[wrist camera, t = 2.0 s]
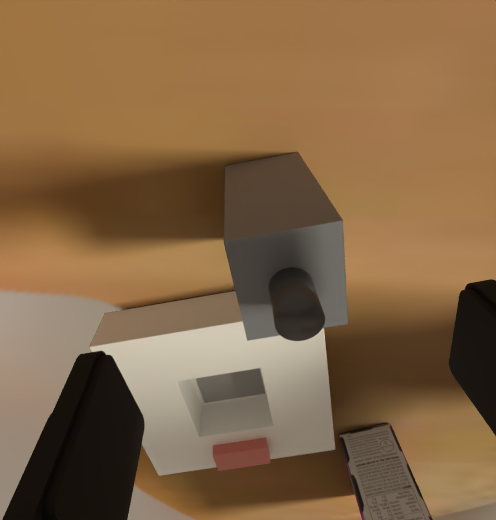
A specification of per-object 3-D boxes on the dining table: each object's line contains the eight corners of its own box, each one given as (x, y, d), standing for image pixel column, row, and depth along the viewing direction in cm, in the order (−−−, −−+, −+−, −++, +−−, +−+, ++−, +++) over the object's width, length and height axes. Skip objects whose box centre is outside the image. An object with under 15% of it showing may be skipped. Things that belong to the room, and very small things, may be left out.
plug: (297, 152, 20) (362, 249, 10) (305, 226, 22) (364, 362, 13) (225, 165, 20) (222, 273, 10) (240, 237, 22) (250, 380, 13)
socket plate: (311, 277, 24) (325, 316, 20) (325, 413, 31) (338, 459, 28) (105, 313, 25) (84, 356, 21) (164, 438, 32) (157, 486, 28)
